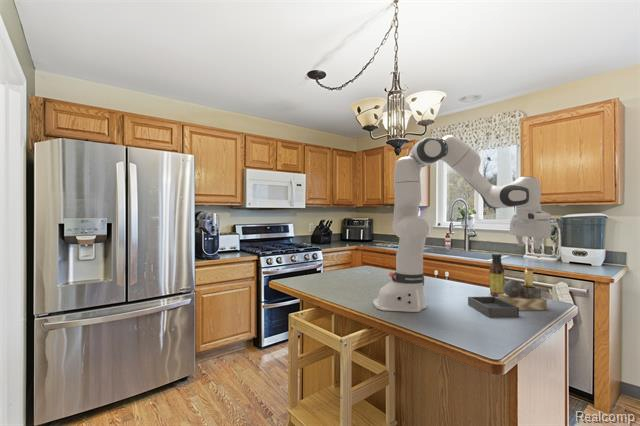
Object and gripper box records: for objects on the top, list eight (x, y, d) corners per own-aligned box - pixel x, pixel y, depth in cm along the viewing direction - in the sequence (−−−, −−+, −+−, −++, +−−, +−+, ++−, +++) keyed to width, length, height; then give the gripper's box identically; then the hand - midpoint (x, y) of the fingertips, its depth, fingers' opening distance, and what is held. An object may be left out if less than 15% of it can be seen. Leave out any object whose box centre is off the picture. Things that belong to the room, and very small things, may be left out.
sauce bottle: (506, 297, 145) (506, 254, 145) (492, 296, 147) (492, 254, 146) (501, 293, 152) (501, 253, 152) (487, 293, 153) (487, 252, 153)
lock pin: (527, 297, 131) (527, 269, 131) (522, 295, 134) (522, 267, 134) (534, 297, 131) (534, 268, 131) (529, 295, 134) (529, 267, 134)
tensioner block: (512, 310, 127) (512, 283, 127) (497, 302, 137) (497, 277, 137) (546, 309, 128) (546, 282, 127) (529, 302, 138) (529, 277, 137)
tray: (518, 316, 119) (518, 307, 119) (489, 317, 119) (489, 308, 118) (494, 304, 135) (494, 296, 135) (468, 305, 134) (468, 296, 134)
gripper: (505, 214, 142) (505, 244, 142) (538, 215, 122) (539, 250, 122) (518, 214, 143) (519, 244, 143) (554, 215, 122) (554, 250, 122)
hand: (528, 247), depth 132 cm, fingers open, 8 cm apart
